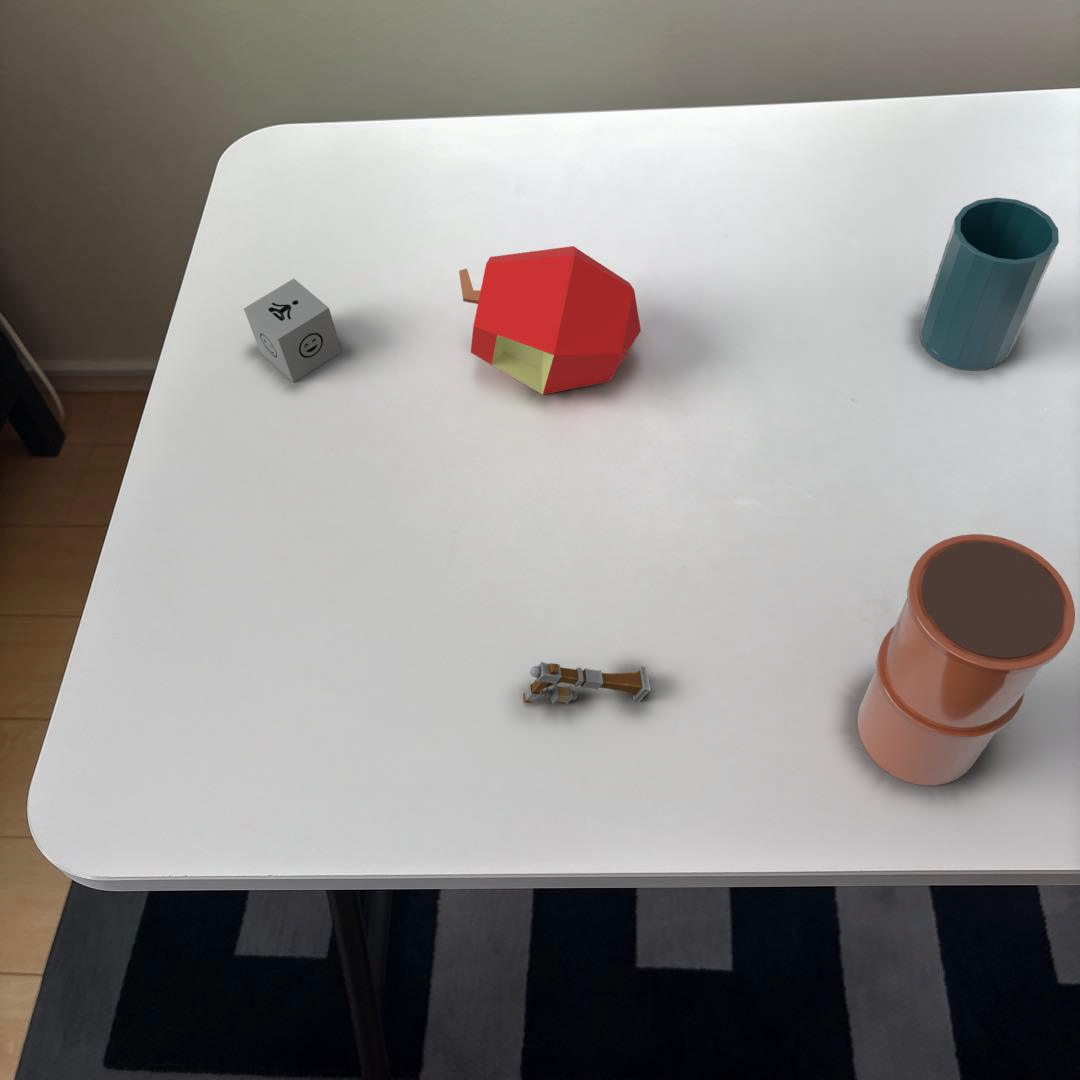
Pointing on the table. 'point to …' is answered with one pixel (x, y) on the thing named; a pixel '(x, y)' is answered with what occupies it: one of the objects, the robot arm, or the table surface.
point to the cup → (987, 282)
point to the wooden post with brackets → (583, 682)
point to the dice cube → (293, 329)
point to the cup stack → (962, 655)
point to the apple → (552, 318)
